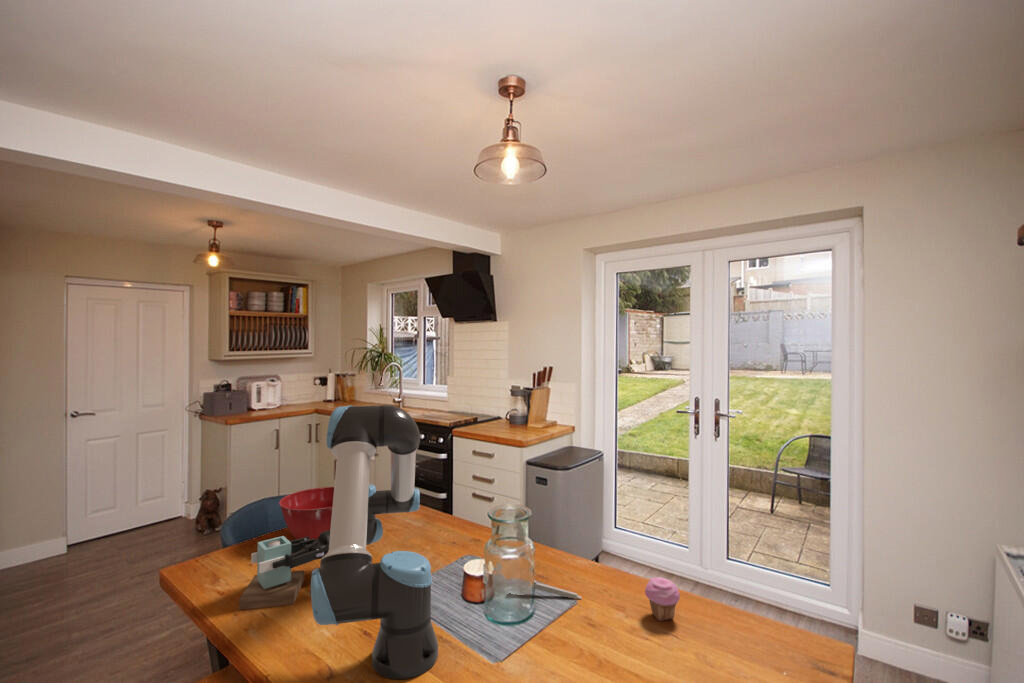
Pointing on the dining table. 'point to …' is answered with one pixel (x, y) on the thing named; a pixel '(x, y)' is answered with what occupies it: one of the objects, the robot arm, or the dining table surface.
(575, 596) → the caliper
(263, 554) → the collar
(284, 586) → the wooden peg stand
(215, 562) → the dining table surface
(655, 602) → the cupcake
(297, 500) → the mixing bowl
